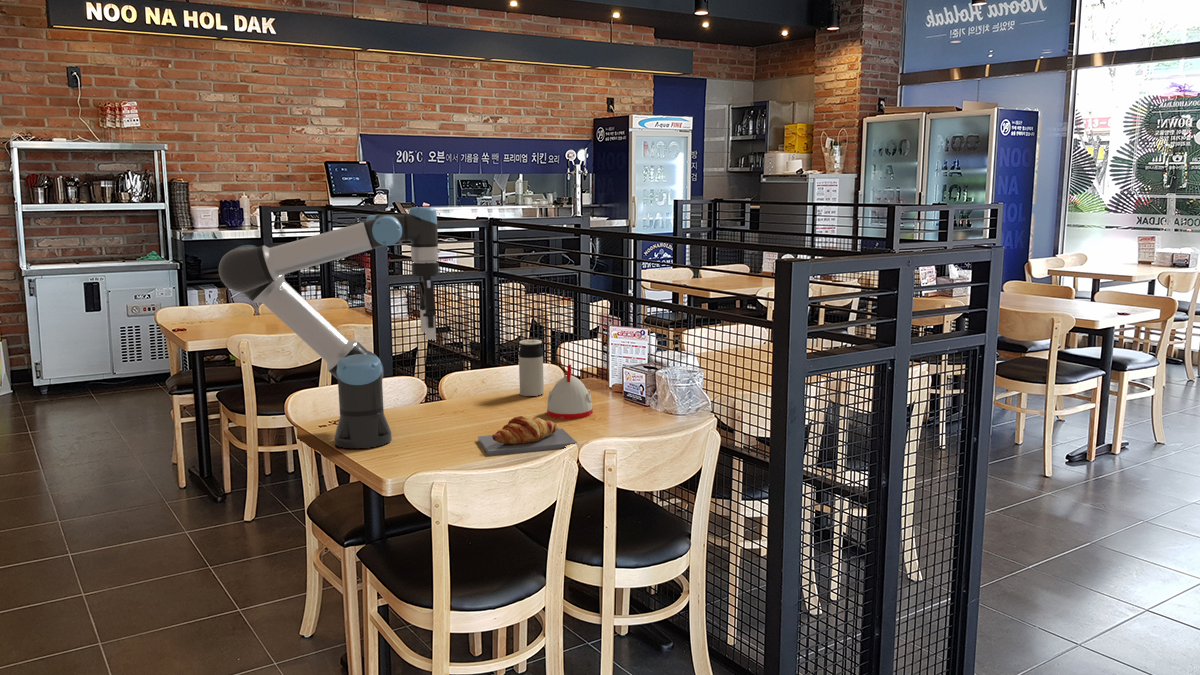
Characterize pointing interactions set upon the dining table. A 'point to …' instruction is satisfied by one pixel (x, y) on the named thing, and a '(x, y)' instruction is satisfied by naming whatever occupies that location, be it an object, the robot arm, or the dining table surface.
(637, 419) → the dining table surface
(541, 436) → the croissant
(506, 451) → the slate board
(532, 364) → the travel mug
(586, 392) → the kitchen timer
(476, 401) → the dining table surface
